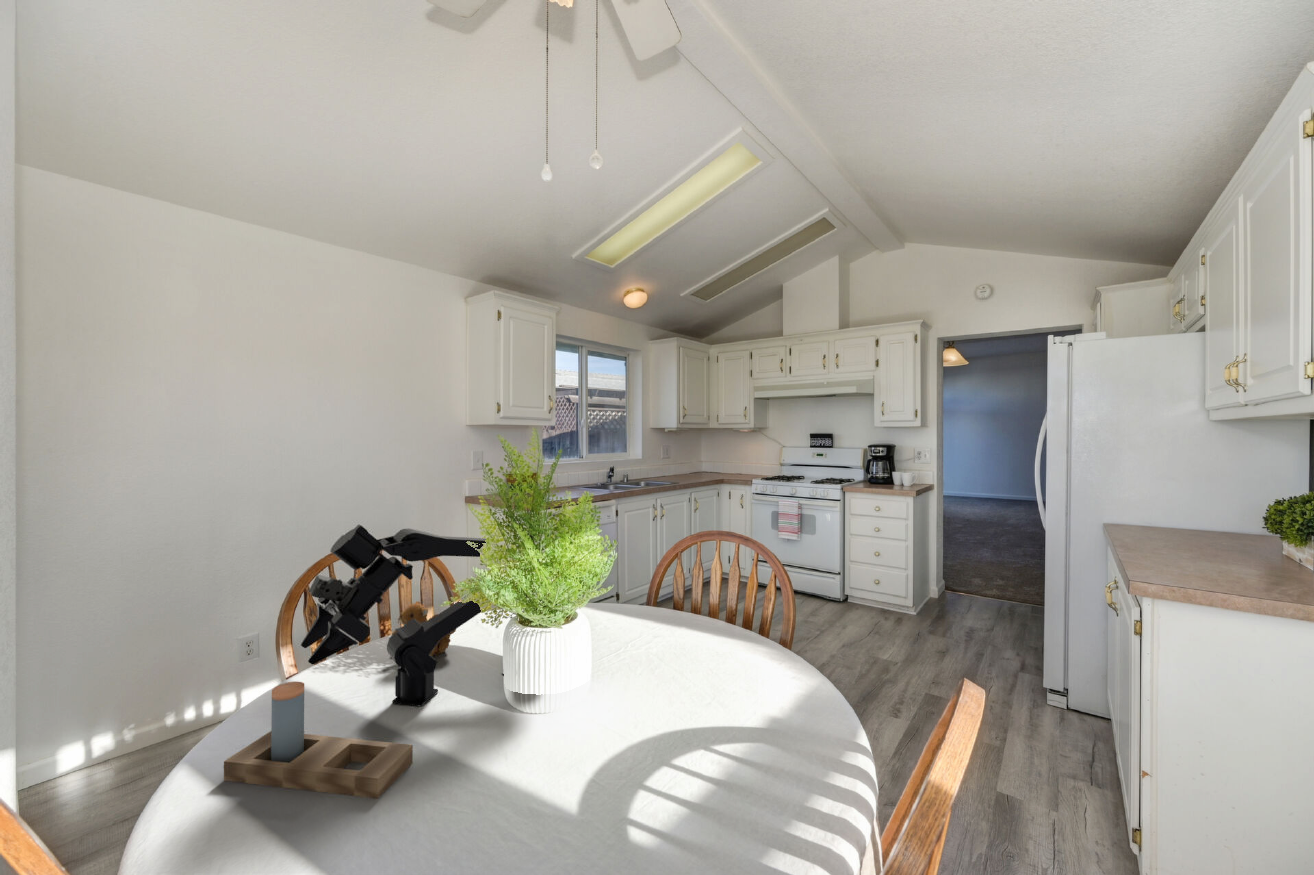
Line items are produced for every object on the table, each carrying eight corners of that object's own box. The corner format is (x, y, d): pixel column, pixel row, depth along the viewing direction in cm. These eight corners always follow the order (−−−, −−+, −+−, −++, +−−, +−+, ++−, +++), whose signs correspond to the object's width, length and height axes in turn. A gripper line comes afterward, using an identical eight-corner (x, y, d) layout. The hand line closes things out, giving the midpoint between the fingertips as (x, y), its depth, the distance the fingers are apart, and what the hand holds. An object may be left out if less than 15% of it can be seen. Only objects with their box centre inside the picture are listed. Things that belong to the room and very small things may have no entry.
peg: (306, 757, 93) (307, 680, 93) (300, 772, 89) (300, 691, 89) (275, 762, 91) (276, 683, 91) (267, 778, 87) (268, 696, 87)
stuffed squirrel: (388, 655, 135) (388, 601, 135) (448, 643, 143) (448, 592, 143) (397, 670, 127) (397, 612, 127) (460, 656, 135) (460, 602, 135)
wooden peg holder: (412, 763, 92) (412, 744, 92) (377, 798, 83) (377, 778, 83) (271, 747, 96) (271, 730, 96) (223, 780, 87) (223, 761, 87)
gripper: (330, 550, 112) (263, 616, 105) (349, 569, 98) (273, 647, 91) (373, 582, 117) (312, 647, 110) (397, 605, 103) (329, 681, 96)
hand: (306, 654), depth 102 cm, fingers open, 9 cm apart
